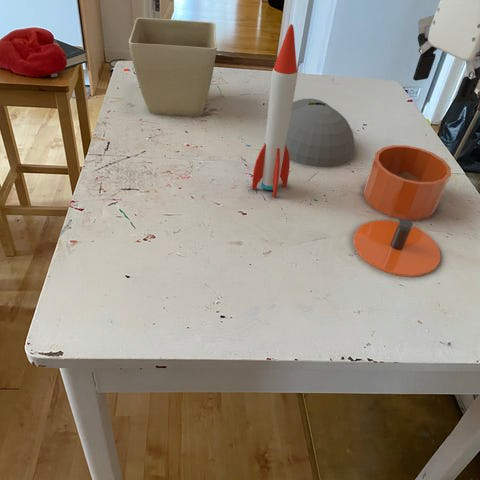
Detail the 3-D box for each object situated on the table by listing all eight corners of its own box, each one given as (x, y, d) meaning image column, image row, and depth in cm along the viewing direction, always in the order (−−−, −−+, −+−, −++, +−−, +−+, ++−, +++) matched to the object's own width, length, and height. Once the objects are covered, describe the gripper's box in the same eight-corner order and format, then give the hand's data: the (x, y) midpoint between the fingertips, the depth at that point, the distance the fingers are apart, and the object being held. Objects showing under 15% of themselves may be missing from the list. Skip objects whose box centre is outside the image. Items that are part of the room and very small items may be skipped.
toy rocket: (286, 189, 97) (315, 24, 76) (274, 201, 94) (301, 32, 72) (262, 180, 99) (284, 16, 77) (250, 192, 96) (269, 23, 74)
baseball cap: (345, 112, 121) (359, 69, 110) (352, 189, 108) (368, 148, 98) (272, 106, 120) (279, 61, 109) (270, 182, 108) (277, 140, 97)
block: (399, 191, 99) (407, 171, 96) (415, 202, 97) (423, 182, 93) (383, 196, 97) (390, 176, 94) (398, 207, 95) (406, 187, 92)
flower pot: (141, 88, 126) (136, 15, 113) (212, 92, 127) (215, 21, 115) (134, 120, 113) (127, 42, 100) (214, 124, 115) (216, 48, 102)
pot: (400, 176, 104) (413, 140, 98) (449, 212, 96) (467, 174, 90) (349, 191, 99) (359, 153, 92) (396, 229, 91) (411, 191, 84)
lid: (397, 217, 93) (407, 190, 89) (456, 264, 85) (471, 236, 80) (335, 237, 87) (343, 209, 83) (392, 289, 79) (404, 262, 74)
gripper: (553, -18, 65) (494, 107, 78) (458, -46, 75) (420, 69, 87) (518, -15, 62) (463, 114, 75) (424, -45, 72) (390, 74, 84)
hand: (440, 89), depth 81 cm, fingers open, 9 cm apart
